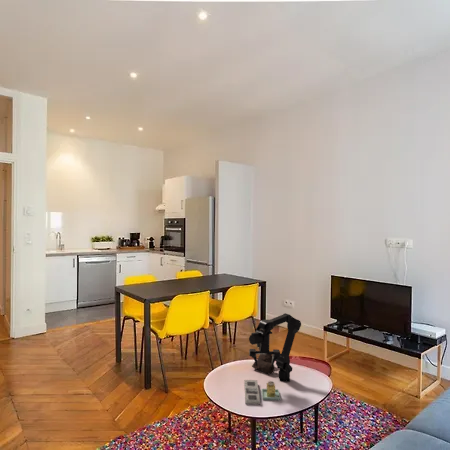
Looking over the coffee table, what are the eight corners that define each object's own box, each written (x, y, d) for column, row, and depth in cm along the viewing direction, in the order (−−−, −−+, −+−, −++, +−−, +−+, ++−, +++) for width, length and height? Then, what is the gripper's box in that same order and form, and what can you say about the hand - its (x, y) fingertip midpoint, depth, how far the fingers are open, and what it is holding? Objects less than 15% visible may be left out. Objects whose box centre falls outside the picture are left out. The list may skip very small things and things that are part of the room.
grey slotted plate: (257, 384, 222) (257, 380, 222) (259, 404, 198) (259, 399, 198) (244, 383, 222) (244, 379, 222) (245, 403, 198) (245, 399, 198)
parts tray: (278, 391, 213) (278, 389, 212) (280, 400, 203) (280, 397, 202) (261, 391, 213) (261, 388, 213) (262, 399, 203) (262, 397, 203)
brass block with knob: (274, 393, 210) (274, 381, 210) (275, 397, 205) (275, 384, 205) (266, 392, 210) (266, 380, 210) (267, 396, 205) (267, 384, 205)
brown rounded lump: (268, 364, 233) (278, 353, 246) (249, 360, 242) (259, 350, 254) (270, 378, 235) (280, 367, 247) (250, 374, 243) (261, 363, 255)
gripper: (278, 337, 227) (277, 361, 227) (249, 336, 227) (248, 361, 228) (280, 343, 216) (280, 369, 216) (249, 342, 216) (249, 368, 217)
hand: (264, 366), depth 219 cm, fingers open, 9 cm apart
